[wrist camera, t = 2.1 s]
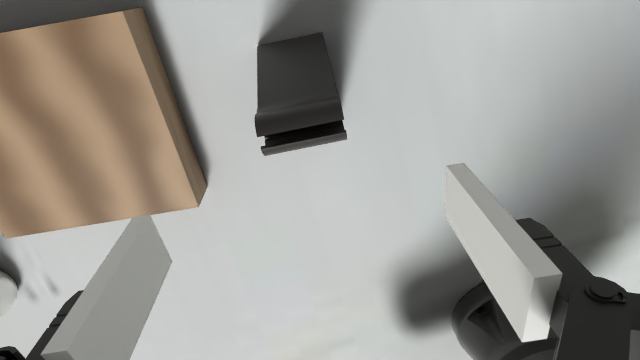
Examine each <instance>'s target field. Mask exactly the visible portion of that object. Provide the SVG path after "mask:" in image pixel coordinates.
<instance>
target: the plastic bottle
mask: <svg viewBox="0 0 640 360" xmlns="http://www.w3.org/2000/svg"><path fill="white" fill-rule="evenodd" d="M16 298H17V286H16V283H15V282H14V280H13V279H12V278H11V277H10V276H8V275H7V274H6V273H4V272H2V271H0V318H1V317H2V316H3V315H4V314H5V313H6V312H8V311H9V309H10V308H11V306H12V305H13V303H14V301H15V300H16Z"/></svg>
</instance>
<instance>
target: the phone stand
mask: <svg viewBox="0 0 640 360" xmlns="http://www.w3.org/2000/svg"><path fill="white" fill-rule="evenodd" d="M257 82H258V109H257V113H256V115H255V128H256V134H257V137H260V136H265V145H266V146H261V151H262V153H263V154H264V156H267V155H272V154H277V153H282V152H287V151H292V150H297V149H302V148H307V147H312V146H317V145H322V144H327V143H332V142H337V141H342V140H347V134H346V130H344V126H343V122H342V120H344V116H343V111H342V107H341V102H340V99H339V96H338V93H337V90H336V86H335V82H334V78H333V74H332V70H331V66H330V62H329V58H328V54H327V50H326V46H325V42H324V37H323V33H317V34H313V35H308V36H303V37H299V38H294V39H289V40H285V41H280V42H275V43H271V44H266V45H261V46H257Z"/></svg>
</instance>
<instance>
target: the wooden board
mask: <svg viewBox="0 0 640 360" xmlns="http://www.w3.org/2000/svg"><path fill="white" fill-rule="evenodd" d="M206 189H207V184H206V182H205V179H204V176H203V173H202V171H201V168H200V165H199V162H198V160H197V157H196V154H195V151H194V149H193V146H192V143H191V140H190V138H189V135H188V132H187V129H186V127H185V124H184V121H183V118H182V116H181V113H180V110H179V107H178V105H177V102H176V99H175V96H174V93H173V91H172V88H171V85H170V82H169V80H168V77H167V74H166V71H165V69H164V66H163V63H162V60H161V58H160V55H159V52H158V49H157V47H156V44H155V41H154V38H153V36H152V33H151V30H150V27H149V25H148V22H147V19H146V16H145V14H144V11H143V8H142V7H141V8H135V9H129V10H124V11H118V12H113V13H107V14H102V15H96V16H91V17H85V18H80V19H74V20H69V21H63V22H57V23H52V24H46V25H41V26H35V27H30V28H24V29H19V30H13V31H8V32H2V33H0V231H1V232H2V234H3V235H4V236H5V238H12V237H18V236H24V235H30V234H36V233H43V232H49V231H55V230H61V229H67V228H73V227H79V226H86V225H92V224H98V223H104V222H110V221H116V220H122V219H128V218H134V217H140V216H146V215H153V214H159V213H165V212H171V211H177V210H184V209H190V208H196V207H199V205H200V203H201V201H202V198H203V196H204V193H205V191H206Z"/></svg>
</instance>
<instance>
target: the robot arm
mask: <svg viewBox="0 0 640 360" xmlns="http://www.w3.org/2000/svg"><path fill="white" fill-rule="evenodd" d="M445 218H446V219H447V221H448V222H449V224H450V226H451V227H452V229H453V231H454V232H455V234H456V236H457V237H458V239H459V240H460V242H461V244H462V245H463V247H464V249H465V250H466V252H467V253H468V255H469V257H470V258H471V260H472V262H473V263H474V265H475V267H476V268H477V270H478V271H479V273H480V275H481V276H482V278H483V280H484V281H485V283H483V284H481V285H479V286H478V287H476V288H474V289H473V290H472V291H470V292H469V293H468V294H467V295H466V296H465V297H464V298H463V299H462V300H461V301H460V302H459V304H458V305H457V307H456V308H455V310H454V313H453V316H452V327H453V330H454V332H455V334H456V337H457V339H458V341H459V343H460V345H461V346H462V348H463V349H464V350H465V351H466V352H467V353H468V354H469V355H470V357H471V358H472V359H473V360H640V294H636V293H629V292H626V290H625V289H624V288H622V287H621V286H619V285H618V284H616V283H615V282H612V281H610V280H607V279H605V278H601V277H595V276H593V275H592V274H591V273H590V272H589V271H588V270H587V269H586V268H585V267H584V266H583V265H582V264H581V263H580V262H579V261H578V260H577V259H576V258H575V257H574V256H573V255H572V254H571V253H570V252H569V251H568V250H567V249H566V248H565V247H564V246H562V243H561V242H560V241H559V240H558V239H557V238H554V235H553V234H552V233H551V232H550V231H549V230H548V229H547V228H546V227H545V226H544V225H542V224H540V223H538V222H536V221H534V220H532V219H531V218H527V219H521V220H514V218H513V217H512V216H511V215H510V214H509V213H508V212H507V211H506V209H505V208H504V207H503V206H502V205H501V204H500V203H499V202H498V200H497V199H496V198H495V197H494V196H493V195H492V194H491V193H490V191H489V190H488V189H487V188H486V187H485V186H484V185H483V184H482V183H481V181H480V180H479V179H478V178H477V177H476V176H475V175H474V174H473V172H472V171H471V170H470V169H469V168H468V167H467V166H466V165H465V163H460V164H454V165H448V166H446V209H445ZM171 263H172V260H171V258H170V256H169V254H168V252H167V249H166V247H165V245H164V243H163V241H162V239H161V237H160V235H159V233H158V231H157V229H156V227H155V225H154V222H153V220H152V218H151V216H150V215H146V216H140V217H134V218H132V220H131V221H130V223H129V224H128V226H127V227H126V229H125V230H124V232H123V233H122V235H121V236H120V238H119V239H118V241H117V242H116V243H115V245H114V246H113V248H112V249H111V251H110V252H109V254H108V255H107V257H106V258H105V260H104V261H103V263H102V264H101V266H100V267H99V269H98V270H97V272H96V273H95V275H94V276H93V278H92V279H91V280H90V282H89V283H88V285H87V286H86V288H85V289H84V290H82V291H78V292H77V293H76V294H74V295H73V296H72V297H71V298H70V299H69V300H68V301H67V302H66V303H65V304H64V305H63V307H62V308H61V309H60V311H59V312H58V314H57V315H56V316H57V317H56V318H54V319H53V321H52V322H51V324H50V325H49V328H47V329H46V331H45V332H44V333H43V335H42V336H41V338H40V339H39V341H38V342H37V343H36V345H35V346H34V348H33V349H32V350H31V352H30V353H29V355H28V356H27V358H26V359H25V358H24V357H23V355H22V354H21V353H20V352H19V351H18V350H17V349H16V348H15V347H10V346H7V347H3V348H0V360H129V359H130V357H131V355H132V353H133V350H134V348H135V346H136V343H137V341H138V339H139V337H140V334H141V332H142V330H143V327H144V325H145V323H146V320H147V318H148V316H149V314H150V311H151V309H152V307H153V304H154V302H155V300H156V297H157V295H158V293H159V291H160V288H161V286H162V284H163V281H164V279H165V277H166V275H167V272H168V270H169V268H170V265H171Z"/></svg>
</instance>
